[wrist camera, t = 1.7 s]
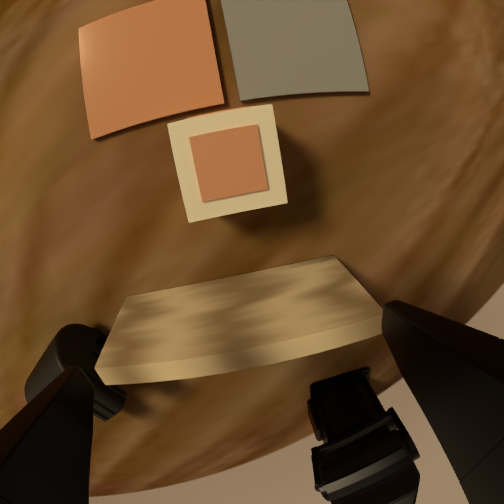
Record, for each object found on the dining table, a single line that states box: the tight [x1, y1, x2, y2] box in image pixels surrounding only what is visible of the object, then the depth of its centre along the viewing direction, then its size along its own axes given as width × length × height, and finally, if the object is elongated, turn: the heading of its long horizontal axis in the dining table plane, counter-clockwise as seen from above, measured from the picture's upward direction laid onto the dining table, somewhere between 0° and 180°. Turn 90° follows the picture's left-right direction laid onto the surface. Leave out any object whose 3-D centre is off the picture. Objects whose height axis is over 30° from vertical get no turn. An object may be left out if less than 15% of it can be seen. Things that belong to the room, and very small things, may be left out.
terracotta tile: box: [79, 0, 224, 140], centre depth 14 cm, size 9×9×1 cm
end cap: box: [25, 324, 127, 422], centre depth 19 cm, size 10×7×7 cm
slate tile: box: [220, 0, 369, 101], centre depth 15 cm, size 9×9×1 cm
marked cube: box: [167, 104, 288, 223], centre depth 15 cm, size 5×5×5 cm
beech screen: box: [95, 255, 383, 385], centre depth 18 cm, size 16×4×8 cm, turn 100°
